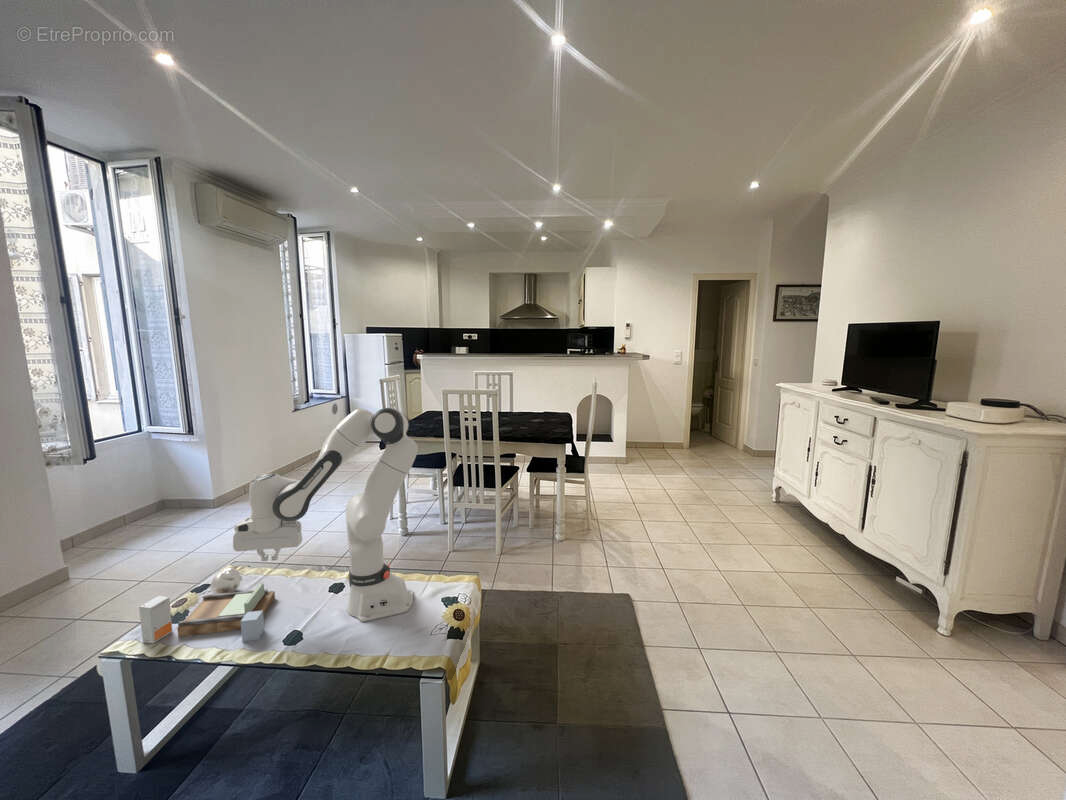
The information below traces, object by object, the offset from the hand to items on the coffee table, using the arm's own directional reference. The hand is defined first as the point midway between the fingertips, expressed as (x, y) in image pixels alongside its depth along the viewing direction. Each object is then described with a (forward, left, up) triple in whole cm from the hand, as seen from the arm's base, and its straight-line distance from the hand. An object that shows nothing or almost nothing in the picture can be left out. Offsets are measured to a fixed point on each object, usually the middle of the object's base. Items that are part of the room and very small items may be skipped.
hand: (270, 560), depth 142 cm
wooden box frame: (+14, 0, -19) cm, 23 cm away
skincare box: (+31, +7, -19) cm, 37 cm away
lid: (+10, 0, -16) cm, 18 cm away
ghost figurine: (+21, -14, -19) cm, 32 cm away
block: (+2, +12, -19) cm, 23 cm away
